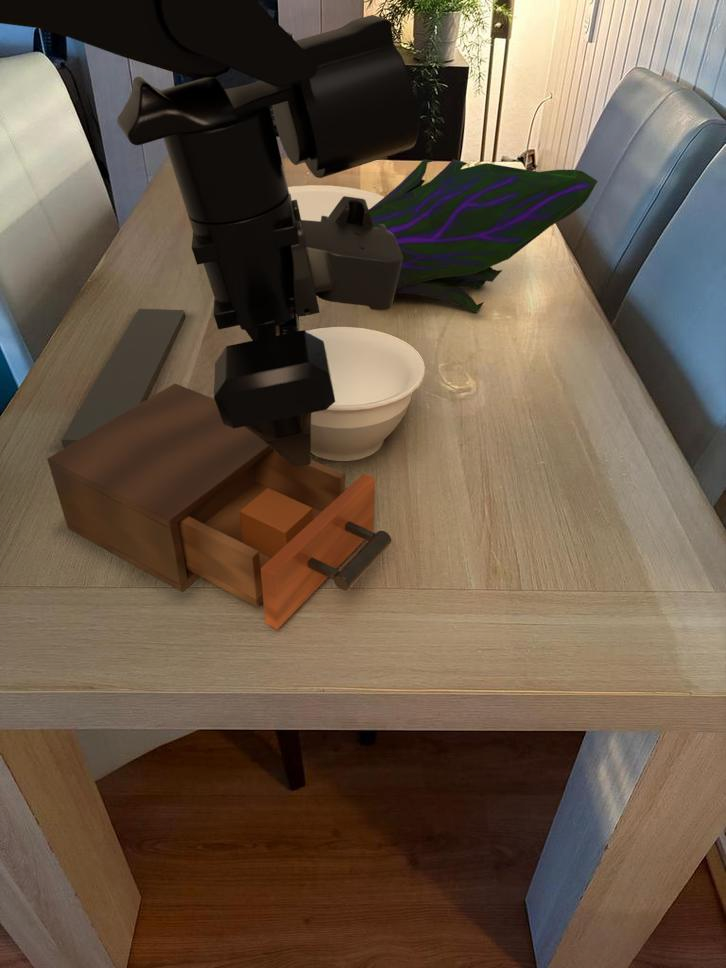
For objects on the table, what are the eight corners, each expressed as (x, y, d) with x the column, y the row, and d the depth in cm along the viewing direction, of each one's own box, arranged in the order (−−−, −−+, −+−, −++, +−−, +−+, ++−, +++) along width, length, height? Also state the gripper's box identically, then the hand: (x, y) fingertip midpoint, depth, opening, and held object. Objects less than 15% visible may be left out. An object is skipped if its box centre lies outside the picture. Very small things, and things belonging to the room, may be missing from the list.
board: (123, 449, 74) (121, 441, 74) (63, 447, 74) (61, 439, 74) (185, 316, 98) (184, 309, 97) (140, 315, 98) (138, 308, 97)
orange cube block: (313, 540, 61) (312, 507, 59) (287, 566, 59) (285, 532, 57) (270, 520, 63) (267, 487, 61) (242, 543, 61) (239, 510, 59)
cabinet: (293, 497, 69) (290, 429, 64) (182, 592, 59) (168, 520, 55) (184, 448, 75) (174, 382, 70) (67, 528, 65) (46, 458, 60)
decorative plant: (366, 337, 114) (554, 278, 114) (380, 352, 89) (620, 277, 89) (326, 199, 109) (522, 137, 108) (328, 175, 84) (584, 94, 83)
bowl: (451, 442, 77) (459, 369, 71) (332, 505, 68) (332, 428, 63) (350, 381, 86) (351, 312, 81) (234, 430, 77) (227, 357, 72)
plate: (417, 244, 120) (418, 237, 119) (235, 251, 116) (235, 243, 115) (386, 189, 143) (386, 182, 142) (232, 193, 139) (232, 186, 138)
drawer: (412, 548, 63) (417, 494, 59) (320, 653, 54) (318, 598, 50) (260, 480, 69) (256, 428, 66) (156, 563, 60) (144, 509, 57)
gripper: (410, 242, 34) (439, 488, 45) (359, 122, 48) (391, 331, 58) (173, 291, 34) (257, 525, 45) (191, 157, 48) (252, 359, 58)
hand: (298, 422), depth 52 cm, fingers open, 9 cm apart
